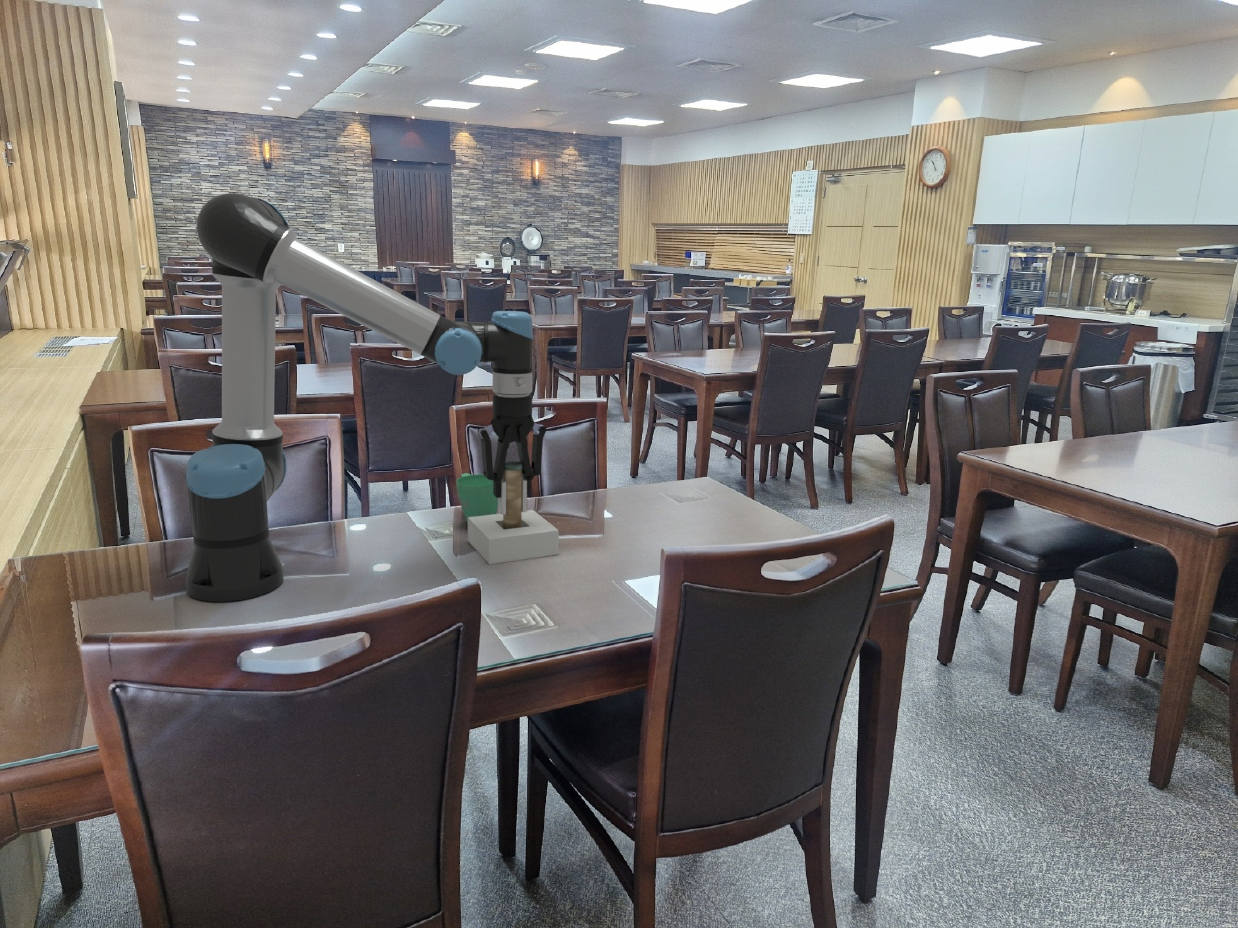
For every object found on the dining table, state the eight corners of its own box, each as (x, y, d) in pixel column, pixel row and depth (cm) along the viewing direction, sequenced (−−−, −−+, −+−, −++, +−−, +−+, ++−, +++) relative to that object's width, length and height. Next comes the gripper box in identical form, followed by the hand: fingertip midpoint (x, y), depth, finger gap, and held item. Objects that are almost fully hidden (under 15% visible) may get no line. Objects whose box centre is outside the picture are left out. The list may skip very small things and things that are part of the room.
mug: (510, 528, 173) (510, 483, 171) (467, 535, 168) (466, 489, 165) (483, 509, 185) (483, 467, 182) (442, 515, 180) (441, 472, 177)
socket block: (489, 564, 153) (489, 539, 151) (467, 540, 165) (467, 517, 163) (558, 554, 159) (558, 530, 158) (532, 532, 171) (532, 509, 170)
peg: (506, 535, 158) (506, 466, 155) (500, 529, 162) (500, 461, 158) (524, 533, 160) (524, 464, 157) (517, 527, 163) (518, 460, 160)
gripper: (476, 399, 147) (477, 521, 153) (560, 395, 155) (558, 512, 160) (464, 392, 154) (465, 510, 159) (545, 389, 161) (544, 501, 167)
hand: (512, 511), depth 160 cm, fingers closed on peg, 3 cm apart
